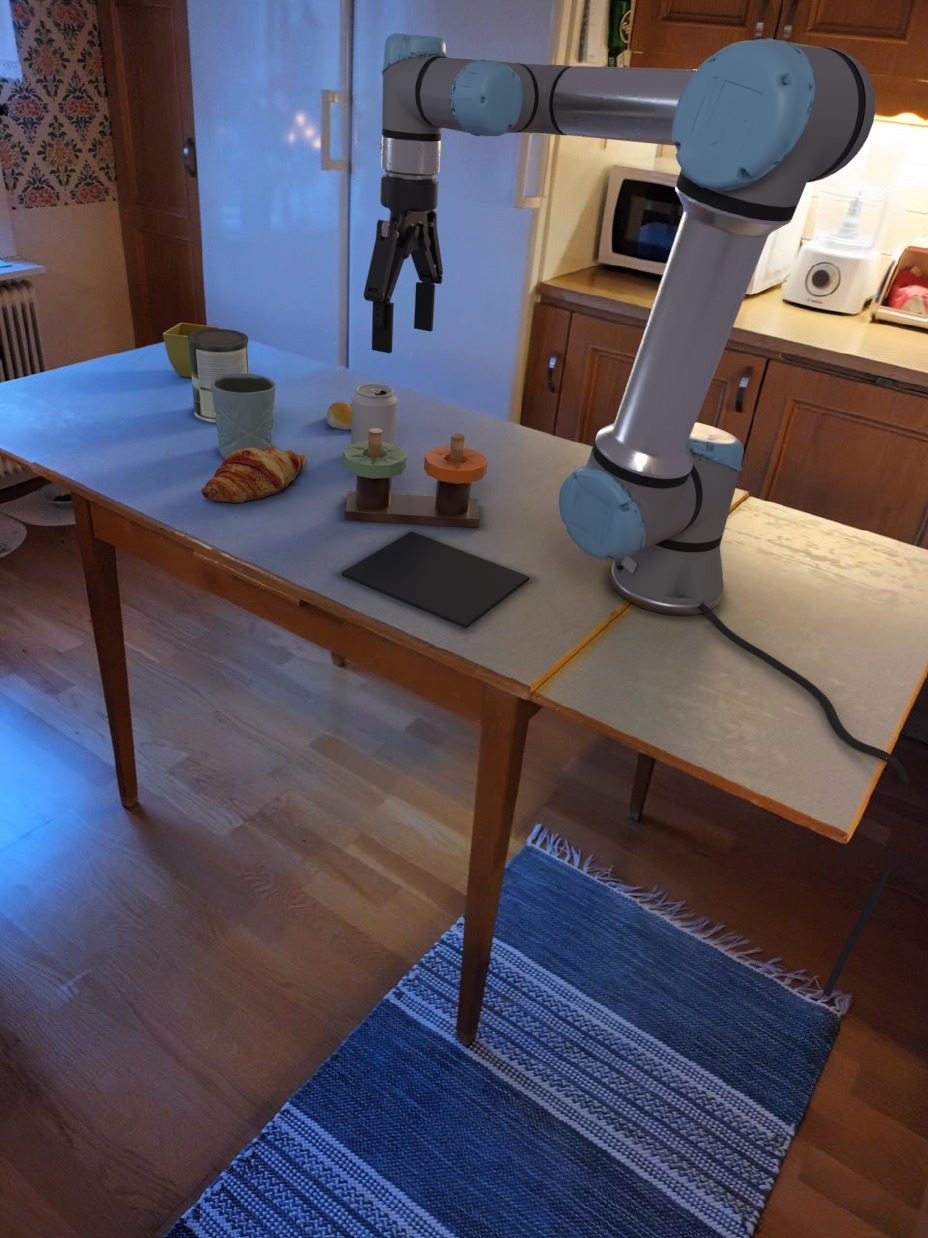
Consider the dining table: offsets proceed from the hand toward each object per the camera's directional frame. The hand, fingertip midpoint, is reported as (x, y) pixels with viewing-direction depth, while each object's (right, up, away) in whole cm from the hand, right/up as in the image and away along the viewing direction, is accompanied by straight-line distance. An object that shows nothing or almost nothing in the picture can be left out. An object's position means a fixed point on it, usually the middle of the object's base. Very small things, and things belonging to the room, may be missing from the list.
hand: (403, 340), depth 131 cm
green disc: (-5, -17, +6) cm, 18 cm away
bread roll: (-12, -4, +40) cm, 42 cm away
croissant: (-23, -19, +14) cm, 33 cm away
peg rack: (+1, -23, +10) cm, 26 cm away
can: (-7, -12, +28) cm, 31 cm away
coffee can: (-36, -2, +39) cm, 53 cm away
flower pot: (-46, +10, +56) cm, 72 cm away
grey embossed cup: (-28, -11, +25) cm, 39 cm away
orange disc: (+7, -17, +7) cm, 20 cm away
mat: (+5, -34, -5) cm, 35 cm away
